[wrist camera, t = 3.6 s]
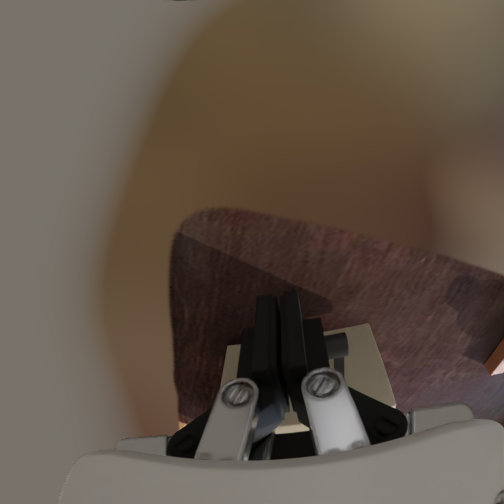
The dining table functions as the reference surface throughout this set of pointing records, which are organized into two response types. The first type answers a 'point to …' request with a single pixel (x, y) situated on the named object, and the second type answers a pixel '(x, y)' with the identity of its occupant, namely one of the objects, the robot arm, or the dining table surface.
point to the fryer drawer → (340, 358)
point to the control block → (496, 360)
